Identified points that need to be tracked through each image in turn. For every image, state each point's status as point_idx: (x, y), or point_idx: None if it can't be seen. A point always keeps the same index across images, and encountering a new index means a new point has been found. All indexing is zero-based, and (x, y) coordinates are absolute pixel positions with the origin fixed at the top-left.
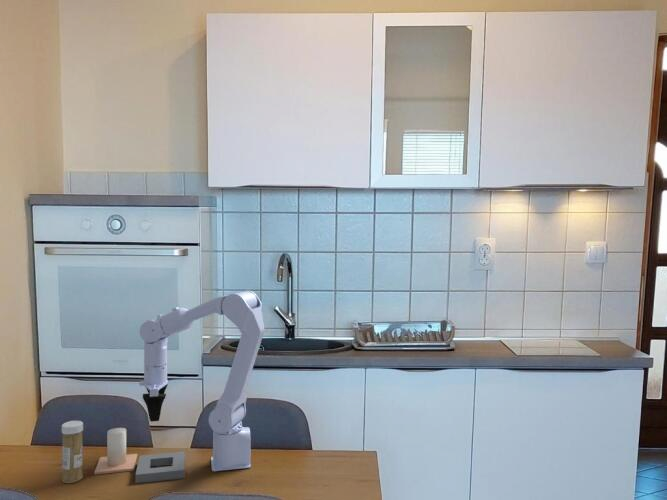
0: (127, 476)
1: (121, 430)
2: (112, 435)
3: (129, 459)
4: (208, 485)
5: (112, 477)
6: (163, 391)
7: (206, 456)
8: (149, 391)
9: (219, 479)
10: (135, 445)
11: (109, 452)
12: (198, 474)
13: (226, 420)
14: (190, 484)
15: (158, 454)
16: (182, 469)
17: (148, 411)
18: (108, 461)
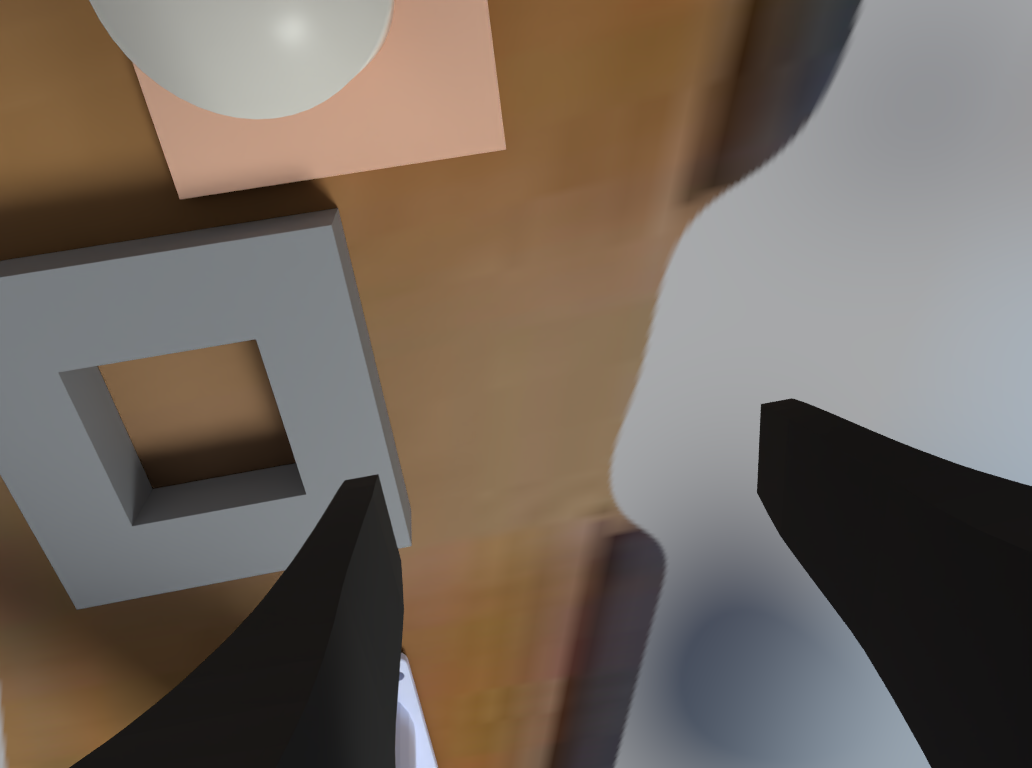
0: (65, 166)
1: (257, 41)
2: None
3: (374, 105)
4: (21, 699)
5: (20, 24)
6: (946, 765)
7: (450, 615)
8: (1011, 579)
9: (113, 731)
10: (755, 63)
11: None
12: (169, 626)
13: None
14: (13, 615)
15: (359, 377)
16: (79, 598)
17: (280, 577)
18: None
